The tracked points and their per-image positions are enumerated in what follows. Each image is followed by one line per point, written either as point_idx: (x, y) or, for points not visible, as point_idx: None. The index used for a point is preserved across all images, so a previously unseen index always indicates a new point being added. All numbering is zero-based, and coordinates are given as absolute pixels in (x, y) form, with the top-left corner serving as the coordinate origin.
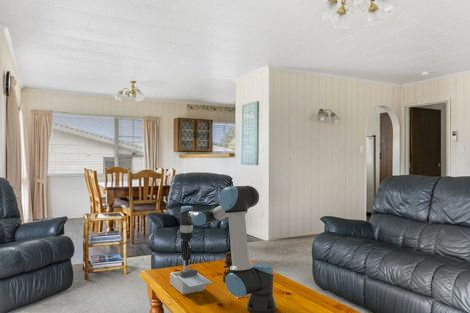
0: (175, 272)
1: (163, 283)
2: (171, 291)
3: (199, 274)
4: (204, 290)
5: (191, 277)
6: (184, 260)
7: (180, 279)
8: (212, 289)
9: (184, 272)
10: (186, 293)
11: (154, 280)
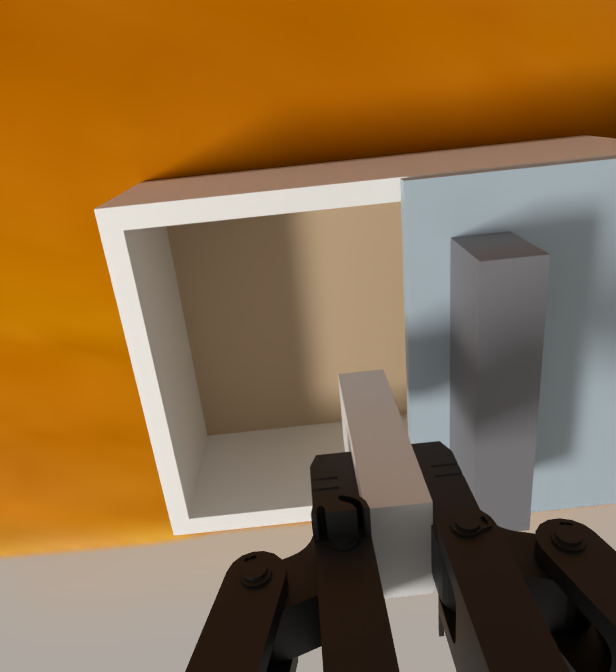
0: (172, 470)
1: (144, 492)
2: None
3: (513, 183)
4: (585, 135)
5: (578, 356)
6: (427, 588)
7: (567, 507)
8: (604, 2)
9: (527, 483)
10: None
11: (20, 549)
